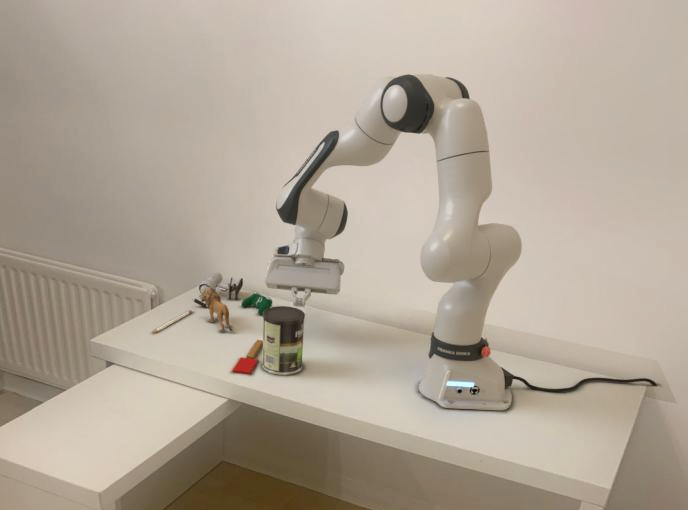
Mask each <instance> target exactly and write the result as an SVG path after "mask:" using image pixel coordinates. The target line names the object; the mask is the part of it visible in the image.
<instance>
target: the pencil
mask: <svg viewBox="0 0 688 510" xmlns="http://www.w3.org/2000/svg"><path fill="white" fill-rule="evenodd" d="M190 314H192V310H188V311H186V312H185V313H182V314H181V315H179V316H177V317H175V318H174V319H171V320H170V321H168V322H166V323H165V324H162V325H161V326H159V327H157V328H155V330H154V331H153V334H154V333H158V332H160V331H162V330H164V329H165V328H166V327H169V326H171V325H172V324H174V323H176V322H178V321H179V320H181V319H183V318H184V317H186V316H188V315H190Z"/></svg>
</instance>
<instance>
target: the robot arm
mask: <svg viewBox="0 0 688 510" xmlns="http://www.w3.org/2000/svg"><path fill="white" fill-rule="evenodd" d="M484 117H485V116H484V114H483V110H482V108H481V106H480V104H479V103H478V102H477V101H475V100H473V99H470V93H469V90H468V88H467V87H466V85H465V84H463V83H462V82H461V81H460V80H458V79H456V78H453V77H450V76H445V77H443V76H438V75H433V74H430V73H425V74H424V73H421V74H409V73H407V74H402V75H399V76H397V77H395V76H385V77H382V78H381V79H379V81H377V82H376V84H375V85H374V86H373V87H372V88H371V90H370V91H369V92H368V93H367V95H366V97H365V98H364V100H363V101H362V102H361V104H360V106H359V107H358V109H357V111H356V112H355V114H354V116H353V117H352V118H351V120H350V121H349V122H348V123H346V124H345V125H344V126H343V127H341V128H339V129H337V130H332V131H330V132H328V133H327V134H326V135H325V136H324V137H323V139H321V141H320V142H319V143H318V144H317V145H316V147H315V148H314V150H313V151H311V153H310V154H309V156H308V157H307V158H306V160H305V161H304V162H303V164H302V165H301V166H300V168H299V169H298V170H297V172H296V173H295V174H294V175H293V176H292V177H291V178H290V179H289V180H288V181H287V182H286V183H285V184H284V185H283V187H282V188H281V190H280V191H279V193H278V195H277V198H276V203H275V210H276V212H277V215H278V216H279V218H280V220H281V221H282V222H283V223H284V224H289V225H292V226H294V232H295V234H294V238H293V240H292V243H289V244H284V245H280V246H277V247H274V249H273V251H272V253H273V257H271V259H270V260H269V261H268V263H267V267H266V270H265V275H264V283H265V286H266V287H267V288H268V289H271V290H272V289H273V290H282V291H283V290H284V291H290V292H291V295H292V297H293V301H292V305H293V307H302V308H305V306H306V302H307V301H309V298H311V296H312V294H313V293H314V294H324V295H338V294H339V293H340V292H341V287H342V286H341V285H342V283H341V282H342V275H344V271H345V264H344V263H343V261H341V260H340V259H337V258H327V257H325V251H326V246H325V245H326V241H327V240H332V239H334V238H337V236H339V235H341V234H342V233H343V232H344V231H345V229H346V226H347V221H348V217H349V210H348V207H347V204H346V202H345V201H344V200H342V199H340V198H339V197H336V196H334V195H331V194H329V193H326V192H323V191H321V190H318V189H316V188H312V187H313V186H314V185H315V184H316V182H317V181H318V180H319V179H320V177H321V176H322V174H323V173H324V172H326V170H328V169H331V168H333V167H337V166H341V167H342V166H351V167H352V166H354V167H370V166H373V165H377V164H379V163H381V161H383V160H384V159H385V158H386V157H387V155H389V153H390V151H391V150H392V148H393V147H394V145H395V143H396V142H397V140H398V139H399V137H400V135H401V134H402V133H406V134H408V133H409V134H417V135H420V134H423V135H424V134H427V135H428V134H429V136H430V137H431V138H432V140H433V143H434V148H435V160H436V173H437V182H438V183H437V184H438V208H437V209H438V210H437V214H436V219H435V222H434V225H433V228H432V231H431V233H430V234H429V236H428V237H427V239H426V240H425V241H424V243H423V245H422V246H421V249H420V254H419V255H420V256H419V261H420V266H421V269H422V272H423V273H424V276H425V277H426V278H428V280H430V281H432V282H435V283H444V284H452V285H451V286H450V288H449V289H448V290H447V291H446V292H445V293H443V295H442V296H441V298H440V299H439V301H438V304H437V307H436V308H437V309H436V316H435V321H434V328H433V331H432V333H431V337H430V340H429V346H428V351H427V352H428V360H427V362H426V363H427V364H426V366H425V370H424V372H423V376H422V378H421V380H420V382H419V384H418V391H419V393H420V394H421V395H423V397H425V398H427V399H429V400H431V401H433V402H435V403H437V404H438V405H439V406H440V407H441V408H445V409H456V410H457V409H459V410H481V411H482V410H483V411H506V410H507V409H508V408H510V407H511V405H512V401H513V400H512V399H513V395H512V391H511V389H510V387H512V386H513V380H516V381H519V382H522V384H524V386H526V387H527V388H529V389H532V390H535V391H541V392H548V393H561V392H563V393H564V392H571V391H574V390H576V389H578V388H579V387H580V386H581V385H583V384H584V383H587V382H588V383H589V382H596V381H597V382H599V381H600V382H611V383H623V384H628V383H639V382H647V383H650V384H651V385H652V386H653V387H658V384H657V383H656V382H655V381H654V380H653V379H651V378H647V377H639V378H630V379H621V378H611V377H587V378H583V379H582V380H580V381H578V382H577V383H576V384H575V385H573V386H570V387H563V388H547V387H540V386H536V385H533V384H531V383H529V382H528V381H527V380H526V379H525V378H523V377H520V376H516V375H514V374H512V373H511V372H510V371H508V370H507V369H505V368H504V367H502V366H500V365H499V364H498V363H497V362H496V361H495V360H494V359H492V358H491V348H490V347H489V342H488V339H487V337H485V338H483V337H482V335H483V330H484V326H485V321H486V317H487V312H488V309H489V306H490V303H491V301H492V299H493V297H494V295H495V293H496V291H497V289H498V287H499V286H500V283H501V282H502V280H503V279H504V277H505V276H506V274H507V273H508V272H509V271H510V269H512V268H513V267H514V266H515V265H516V264H517V262H519V259H520V257H521V255H522V247H523V245H522V244H523V243H522V239H521V235H520V233H519V232H518V230H517V229H516V228H515V227H514V226H512V225H508V224H503V223H495V222H490V223H483V224H479V218H480V214H481V210H482V207H483V205H484V203H486V201H488V199H489V198H490V196H491V195H492V192H493V178H492V166H491V153H490V144H489V143H490V142H489V137H488V132H487V126H486V122H485V119H484ZM299 292H304V295H303V296H302V297H297V295H298V293H299Z"/></svg>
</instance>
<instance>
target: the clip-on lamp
mask: <svg viewBox="0 0 688 510" xmlns="http://www.w3.org/2000/svg"><path fill="white" fill-rule="evenodd" d="M222 281H223V275H222V274H221V273H220V272H219V271H214V272H212V274H211V275H210V276H209V277H208V278H207V279H204V280H202V281H201V282H200V283H199V285H198V291H199V293H200V295H201V294H202V293H203V292H204V291H205V288H207V287H210V288H212V289H213V290H215V291H216V292H217V288H219V290H218V292H217V294H218V295H219V296H220V294H221V292H223V293H225V292H227V291H228V300H231V299H232V293H233V292H235V293H234V294H235V295H234V297H235V300H238V296H239V293H240V292H241V290H242V288H243V286H244V279H243V278H240V279H239V280H237V281H236V280H234V278H233V277H230V282H228V283H227V285H224V284H221V283H222ZM191 300H192V301H193V302H194V303H195V304H197V305H199V306H201V307H203V308H208V306H207V305H206V304H205V302H202V301H201V300H199V299H198V298H191Z"/></svg>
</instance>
